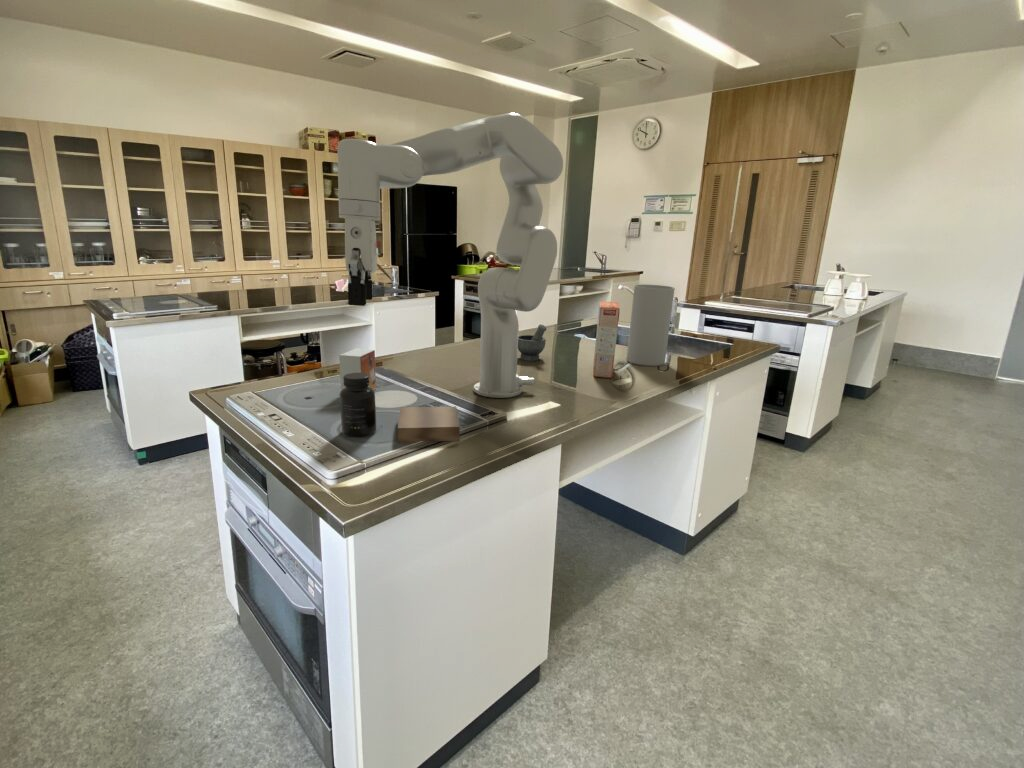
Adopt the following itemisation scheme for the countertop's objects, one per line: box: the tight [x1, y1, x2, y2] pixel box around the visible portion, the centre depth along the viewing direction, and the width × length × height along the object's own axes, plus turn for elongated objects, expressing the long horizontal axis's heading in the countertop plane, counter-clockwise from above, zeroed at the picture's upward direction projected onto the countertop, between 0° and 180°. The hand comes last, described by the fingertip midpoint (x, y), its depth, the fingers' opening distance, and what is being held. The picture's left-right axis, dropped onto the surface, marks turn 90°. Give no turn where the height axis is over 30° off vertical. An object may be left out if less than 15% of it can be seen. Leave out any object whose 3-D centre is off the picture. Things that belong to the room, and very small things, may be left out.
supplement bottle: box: [338, 373, 377, 439], centre depth 103 cm, size 7×7×12 cm
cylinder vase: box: [626, 284, 675, 367], centre depth 168 cm, size 12×12×25 cm
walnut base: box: [397, 406, 461, 443], centre depth 106 cm, size 12×12×3 cm
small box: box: [338, 347, 377, 391], centre depth 127 cm, size 8×6×10 cm
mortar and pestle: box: [518, 324, 547, 362], centre depth 168 cm, size 11×9×12 cm
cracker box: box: [593, 300, 621, 379], centre depth 154 cm, size 14×6×21 cm, turn 171°
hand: (360, 302), depth 102 cm, fingers open, 9 cm apart
